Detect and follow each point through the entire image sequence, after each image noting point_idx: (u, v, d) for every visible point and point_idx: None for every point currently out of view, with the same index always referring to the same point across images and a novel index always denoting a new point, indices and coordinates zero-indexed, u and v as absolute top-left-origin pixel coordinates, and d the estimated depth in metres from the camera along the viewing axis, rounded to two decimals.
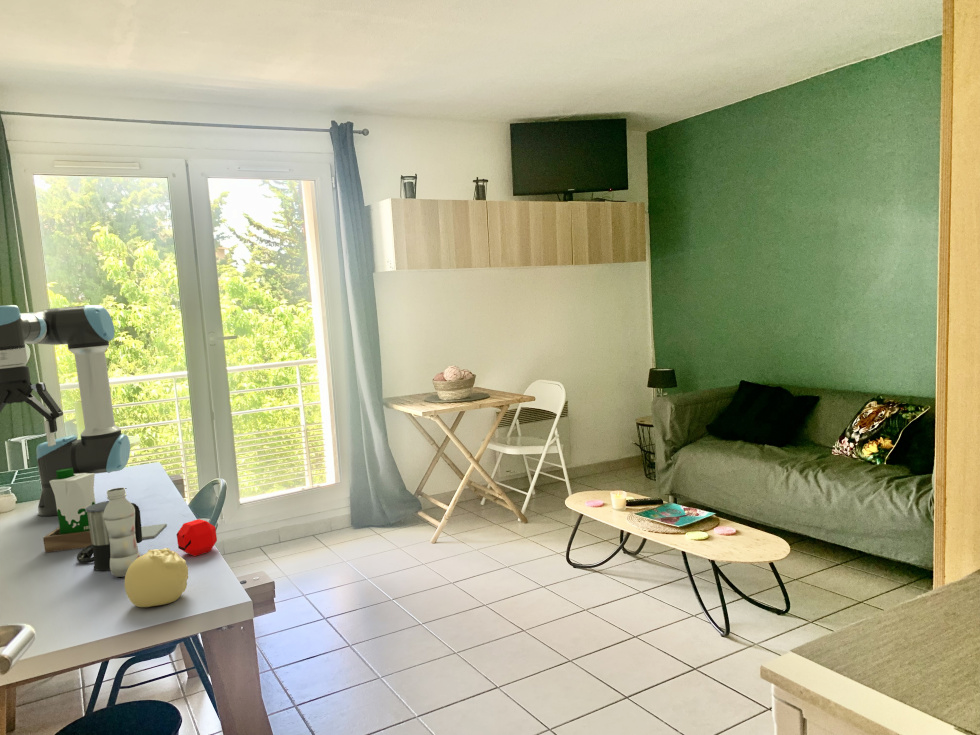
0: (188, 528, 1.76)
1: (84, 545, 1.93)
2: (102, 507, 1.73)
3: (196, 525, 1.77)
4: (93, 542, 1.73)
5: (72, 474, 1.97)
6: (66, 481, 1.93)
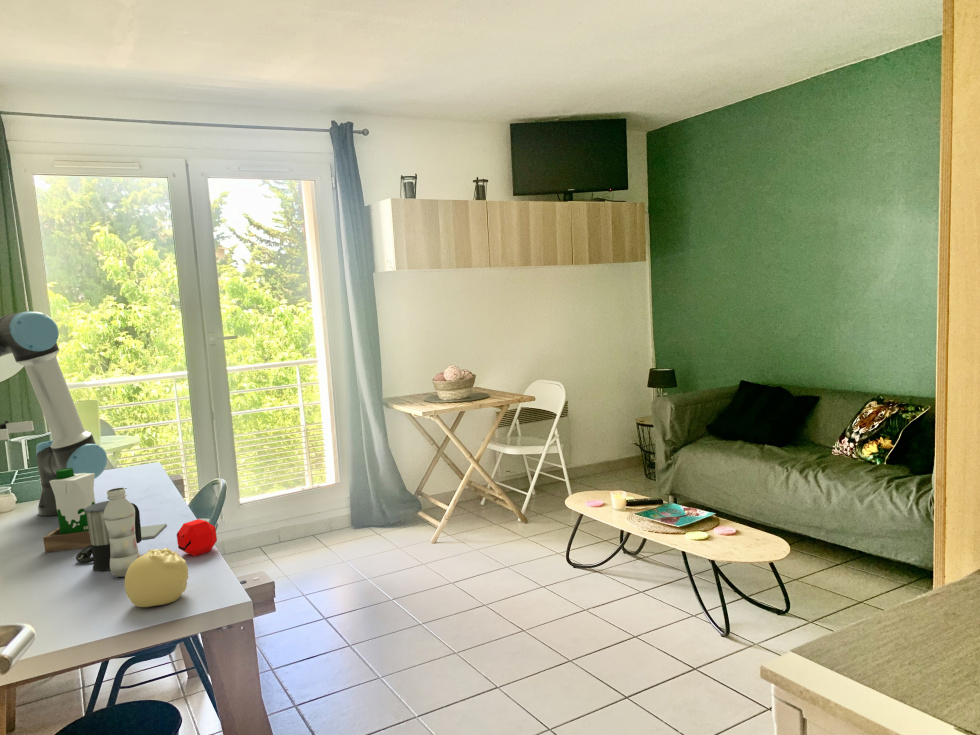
0: (188, 528, 1.76)
1: (84, 545, 1.93)
2: (101, 507, 1.73)
3: (196, 525, 1.77)
4: (92, 542, 1.73)
5: (72, 474, 1.97)
6: (66, 481, 1.93)
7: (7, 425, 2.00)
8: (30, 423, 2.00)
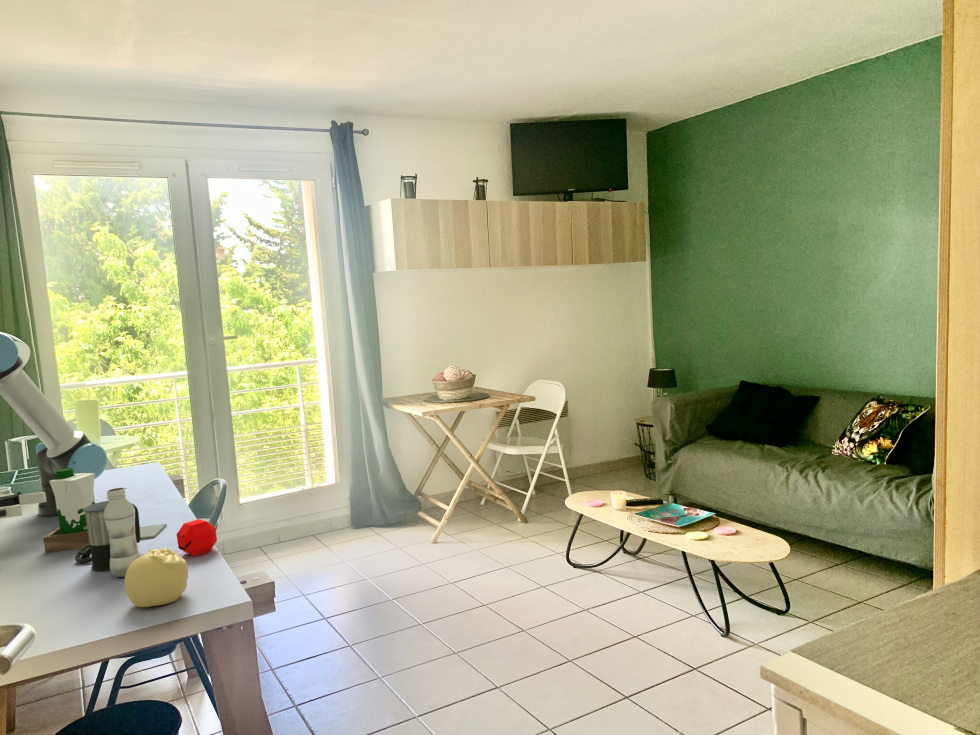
0: (188, 528, 1.76)
1: (84, 545, 1.93)
2: (100, 507, 1.73)
3: (196, 525, 1.77)
4: (91, 542, 1.73)
5: (72, 474, 1.97)
6: (66, 481, 1.93)
7: (20, 497, 2.01)
8: (42, 494, 2.02)
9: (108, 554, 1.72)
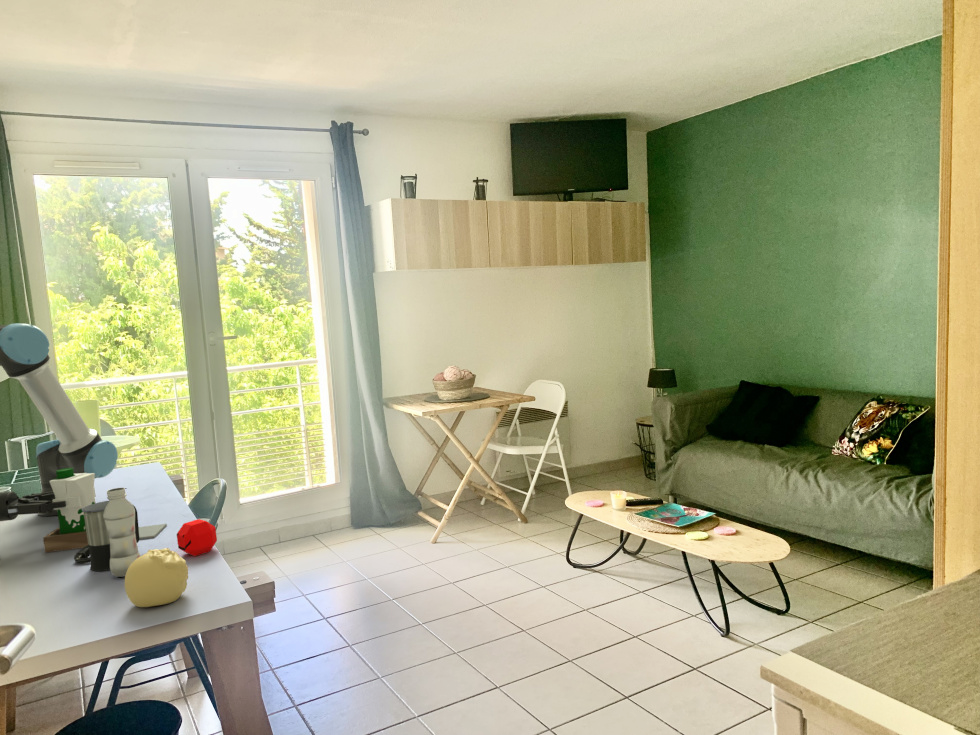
0: (188, 528, 1.76)
1: (84, 545, 1.93)
2: (98, 507, 1.73)
3: (196, 525, 1.77)
4: (89, 542, 1.73)
5: (72, 474, 1.97)
6: (66, 481, 1.93)
7: None
8: None
9: (106, 554, 1.72)
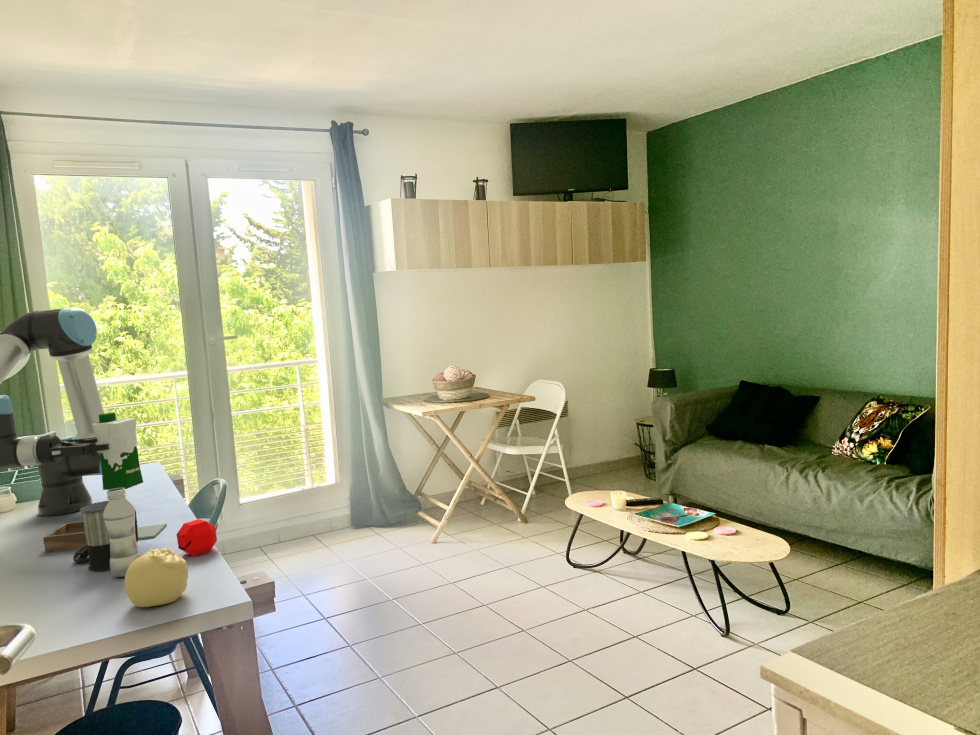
0: (188, 528, 1.76)
1: (84, 545, 1.93)
2: (97, 508, 1.73)
3: (196, 525, 1.77)
4: (88, 543, 1.73)
5: (114, 418, 1.97)
6: (109, 425, 1.92)
7: None
8: None
9: (105, 554, 1.72)
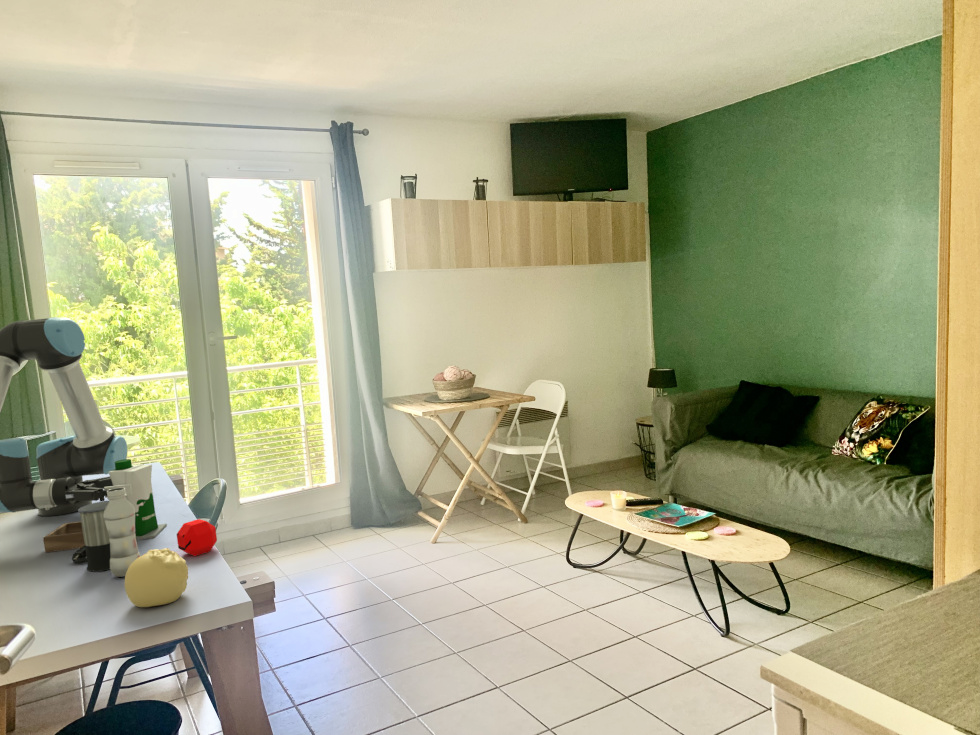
0: (188, 528, 1.76)
1: (84, 545, 1.93)
2: (95, 508, 1.73)
3: (196, 525, 1.77)
4: (86, 543, 1.73)
5: (130, 465, 1.99)
6: (125, 472, 1.95)
7: None
8: None
9: (102, 555, 1.72)
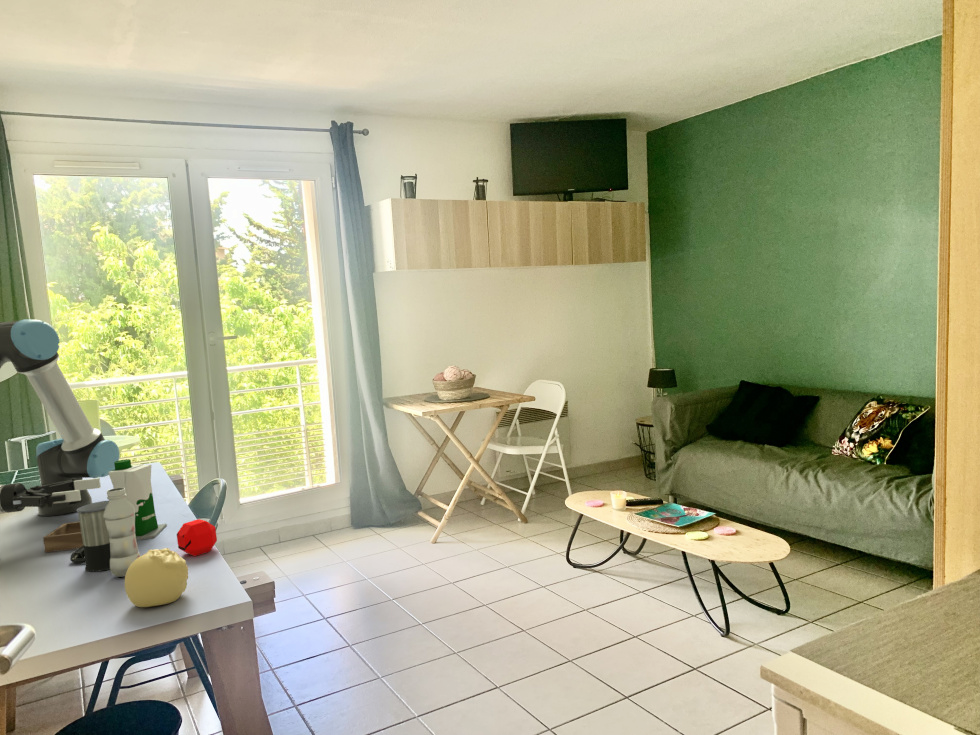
0: (188, 528, 1.76)
1: None
2: (93, 508, 1.73)
3: (196, 525, 1.77)
4: (84, 543, 1.73)
5: (130, 465, 1.99)
6: (125, 472, 1.95)
7: (75, 483, 2.03)
8: (97, 480, 2.04)
9: (101, 555, 1.72)
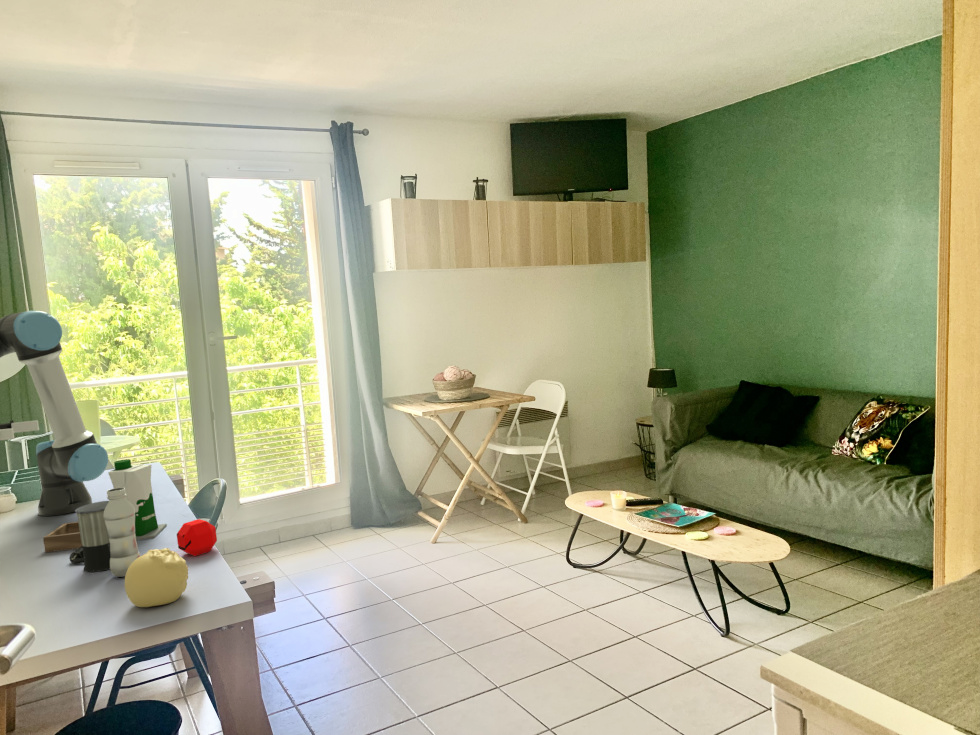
0: (188, 528, 1.76)
1: None
2: (92, 508, 1.73)
3: (196, 525, 1.77)
4: (82, 543, 1.73)
5: (130, 465, 1.99)
6: (125, 472, 1.95)
7: (12, 425, 2.00)
8: (35, 423, 2.01)
9: (99, 555, 1.72)
